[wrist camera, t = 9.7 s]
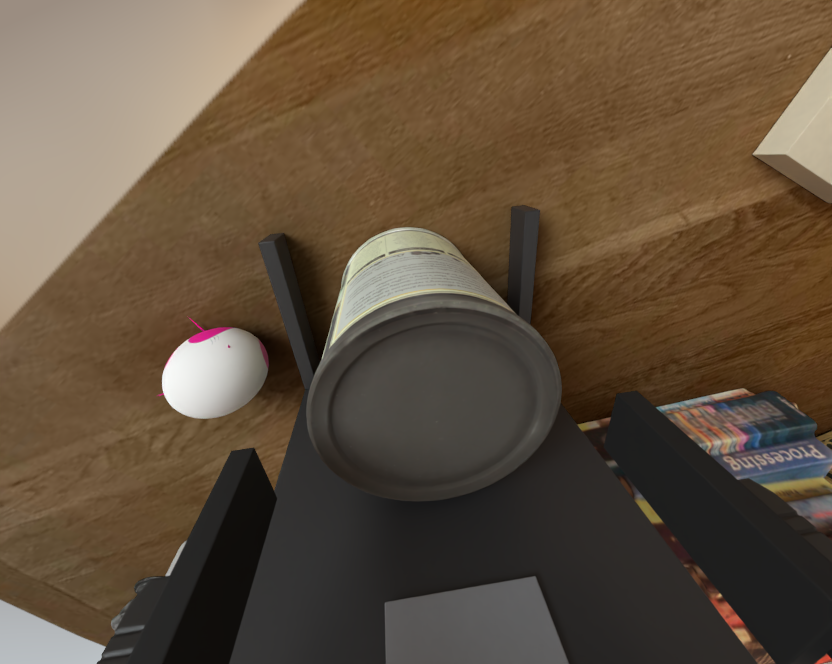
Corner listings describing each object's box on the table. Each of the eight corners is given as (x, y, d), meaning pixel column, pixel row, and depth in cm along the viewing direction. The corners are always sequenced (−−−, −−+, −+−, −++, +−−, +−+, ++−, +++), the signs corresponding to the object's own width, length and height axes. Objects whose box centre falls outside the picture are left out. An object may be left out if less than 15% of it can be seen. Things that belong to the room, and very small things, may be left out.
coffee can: (492, 313, 27) (590, 443, 15) (385, 369, 29) (392, 530, 16) (436, 196, 22) (512, 243, 10) (312, 270, 24) (243, 392, 11)
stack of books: (768, 378, 34) (1076, 550, 19) (722, 485, 43) (911, 663, 28) (556, 425, 34) (699, 636, 19) (553, 524, 43) (650, 723, 28)
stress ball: (261, 295, 28) (194, 279, 21) (306, 376, 27) (250, 386, 20) (195, 342, 29) (111, 341, 22) (235, 423, 28) (160, 447, 21)
